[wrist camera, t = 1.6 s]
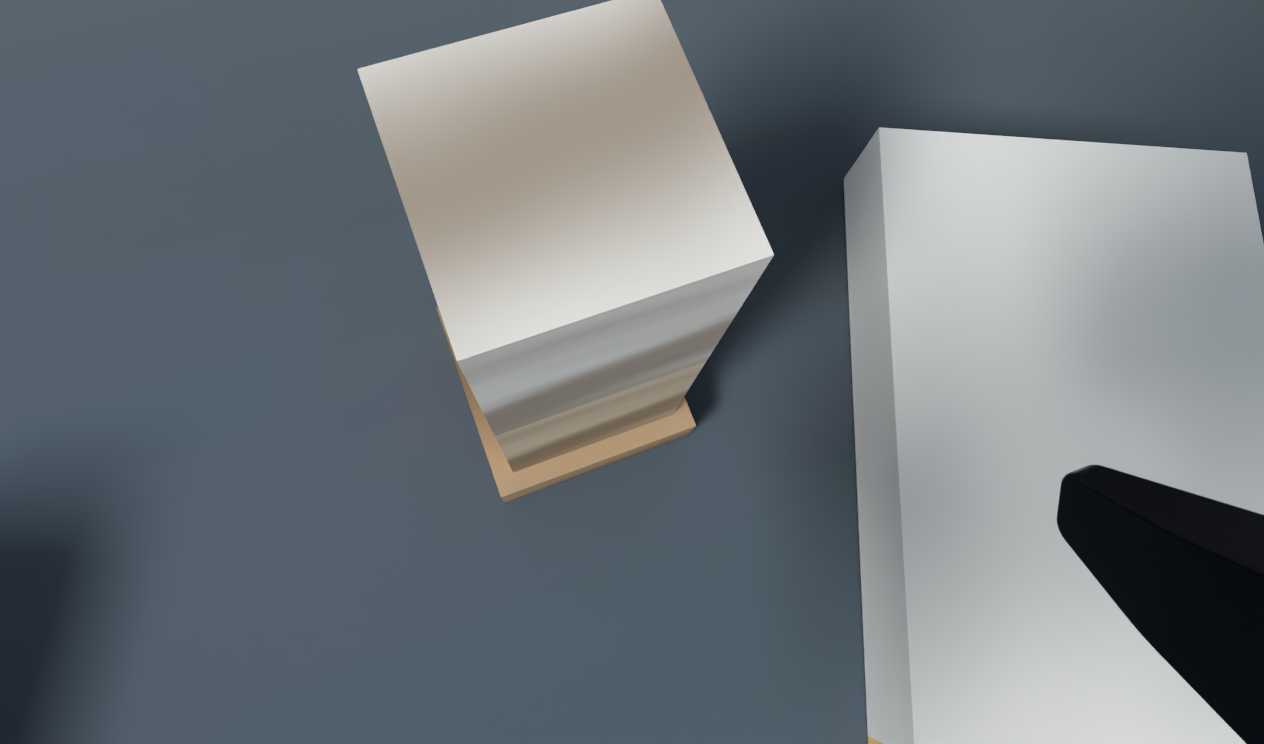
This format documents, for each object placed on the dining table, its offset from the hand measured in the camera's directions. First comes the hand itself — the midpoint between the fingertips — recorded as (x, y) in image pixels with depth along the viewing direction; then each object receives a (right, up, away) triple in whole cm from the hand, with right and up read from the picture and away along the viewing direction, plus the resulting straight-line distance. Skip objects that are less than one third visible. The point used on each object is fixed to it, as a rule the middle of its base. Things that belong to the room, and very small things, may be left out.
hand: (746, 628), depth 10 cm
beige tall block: (-3, +3, +14) cm, 14 cm away
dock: (+11, 0, +14) cm, 17 cm away
